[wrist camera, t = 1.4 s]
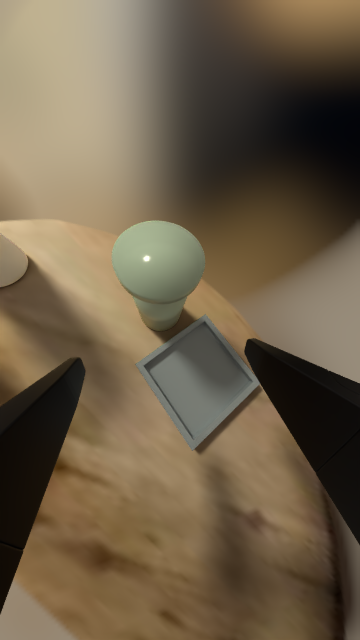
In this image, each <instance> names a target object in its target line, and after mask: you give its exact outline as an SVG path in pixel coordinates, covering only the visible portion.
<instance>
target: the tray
mask: <svg viewBox="0 0 360 640" xmlns="http://www.w3.org/2000/svg"><path fill="white" fill-rule="evenodd" d="M135 365H136V366H137V368H138V369H139V371H140V372H141V374H142V375H143V377H144V378H145V380H146V381H147V383H148V384H149V386H150V387H151V389H152V390H153V392H154V393H155V395H156V397H157V398H158V400H159V401H160V403H161V404H162V406H163V407H164V409H165V410H166V412H167V413H168V415H169V416H170V418H171V419H172V421H173V422H174V424H175V425H176V427H177V428H178V430H179V431H180V433H181V435H182V436H183V438H184V439H185V441H186V442H187V444H188V445H189V447H190V448H191V450H192V451H193V450H194V449H195V448H196V447H197V446H198V445H199V444H200V443H201V442H202V441H203V440H204V439H205V438H206V437H207V436H208V435H209V434H210V433H211V432H212V431H213V430H214V429H215V428H216V427H217V426H218V425H219V424H220V423H221V422H222V421H223V420H224V419H225V418H226V417H227V416H228V415H229V414H230V413H231V412H232V411H233V410H234V409H235V408H236V407H237V406H238V405H239V404H240V403H241V402H242V401H243V400H244V399H245V398H246V397H247V396H248V395H249V394H250V393H251V392H252V391H253V390H254V389H255V388H256V387H257V386H258V385H259V384H260V382H259V381H258V379H257V378H256V377H255V375H254V374H253V373H252V372H251V370H250V369H249V368H248V367H247V365H246V364H245V363H244V362H243V360H242V359H241V358H240V357H239V355H238V354H237V353H236V352H235V350H234V349H233V348H232V347H231V345H230V344H229V343H228V342H227V340H226V339H225V338H224V337H223V335H222V334H221V333H220V332H219V330H218V329H217V328H216V327H215V325H214V324H213V323H212V322H211V320H210V319H209V318H208V317H207V315H206V314H205V315H204V316H202V317H201V318H199V319H198V320H197V321H195V322H194V323H192V324H191V325H190V326H188V327H187V328H185V329H184V330H183V331H181V332H180V333H178V334H177V335H176V336H174V337H173V338H171V339H170V340H169V341H167V342H166V343H164V344H163V345H162V346H160V347H159V348H157V349H156V350H155V351H153V352H152V353H150V354H149V355H148V356H146V357H145V358H143V359H142V360H141V361H139V362H138V363H136V364H135Z"/></svg>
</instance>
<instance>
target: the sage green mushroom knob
mask: <svg viewBox="0 0 360 640" xmlns="http://www.w3.org/2000/svg"><path fill="white" fill-rule="evenodd" d="M112 264H113V268H114V271H115V273H116V275H117V277H118V279H119V281H120V283H121V285H122V286H123V287H124V289H125V290H126V291H127V292H128V293H130V294H131V295H132V296H133V298H134V301H135V304H136V306H137V309H138V311H139V314H140V316H141V319H142V321H143V322H144V324H145V325H146V326H147V327H149V328H150V329H152V330H155V331H165V330H168V329H171V328H172V327H173V326H175V325H176V323H177V322H178V320H179V317H180V315H181V312H182V309H183V306H184V304H185V301H186V298H187V296H188V295H190V294H191V293H192V292H193V291H194V289H195V288H196V287H197V285H198V283H199V281H200V279H201V277H202V274H203V271H204V267H205V256H204V252H203V249H202V247H201V245H200V243H199V242H198V240H197V239H196V238H195V237H194V236H193V235H192V234H191V233H190V232H189V231H187V230H186V229H184V228H183V227H181V226H179V225H176V224H173V223H170V222H164V221H147V222H142V223H139V224H136V225H134V226H132V227H130V228H129V229H127V230H126V231H124V232H123V233H122V234H121V235H120V236H119V238H118V239H117V241H116V242H115V245H114V247H113V251H112Z"/></svg>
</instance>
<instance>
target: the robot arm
mask: <svg viewBox="0 0 360 640" xmlns="http://www.w3.org/2000/svg"><path fill="white" fill-rule="evenodd" d="M244 352H245V355H246V357H247V359H248V361H249V363H250V365H251V367H252V370H253V372H254V374H255V376H256V377H257V379H258V381H259V382H260V384H261V386H262V387H263V389H264V391H265V392H266V394H267V395H268V397H269V399H270V400H271V402H272V403H273V405H274V407H275V408H276V410H277V412H278V413H279V415H280V416H281V418H282V420H283V421H284V423H285V425H286V426H287V428H288V429H289V431H290V433H291V434H292V436H293V437H294V439H295V441H296V442H297V444H298V446H299V447H300V449H301V450H302V452H303V454H304V455H305V457H306V458H307V460H308V462H309V463H310V465H311V467H312V468H313V470H314V471H315V472H316V475H317V477H318V478H319V480H320V481H321V483H322V485H323V486H324V488H325V489H326V491H327V493H328V494H329V496H330V498H331V499H332V501H333V502H334V504H335V505H336V507H337V509H338V510H339V512H340V514H341V515H342V517H343V519H344V520H345V522H346V523H347V525H348V527H349V528H350V530H351V531H352V533H353V535H354V536H355V538H356V540H357V541H358V543H359V544H360V383H357V382H355V381H352V380H350V379H348V378H345V377H343V376H340V375H338V374H336V373H334V372H331V371H328V370H327V369H324V368H322V367H320V366H317V365H315V364H313V363H310V362H308V361H306V360H304V359H301V358H299V357H297V356H294V355H292V354H290V353H287V352H285V351H283V350H280V349H278V348H276V347H273V346H271V345H269V344H267V343H264V342H262V341H260V340H258V339H255V338H253V339H248V340H247V342H246V346H245V350H244ZM84 377H85V367H84V365H83V362H82V360H81V358H79V357H76V358H70V359H68V360H67V361H65V362H64V363H63V364H61V365H60V366H58V367H57V368H55V369H54V370H52V371H51V372H50V373H48V374H47V375H45V376H44V377H42V378H41V379H39V380H38V381H37V382H35V383H34V384H32V385H31V386H29V387H28V388H26V389H25V390H24V391H22V392H21V393H19V394H18V395H16V396H15V397H13V398H12V399H11V400H9V401H8V402H6V403H5V404H3V405H2V406H0V614H1V611H2V608H3V605H4V602H5V600H6V597H7V594H8V592H9V589H10V586H11V584H12V581H13V578H14V576H15V573H16V570H17V568H18V565H19V562H20V559H21V557H22V554H23V549H24V548H25V545H26V543H27V540H28V537H29V535H30V532H31V529H32V526H33V524H34V521H35V518H36V516H37V513H38V510H39V507H40V505H41V502H42V499H43V497H44V494H45V491H46V489H47V486H48V483H49V480H50V478H51V475H52V472H53V470H54V467H55V464H56V461H57V459H58V456H59V453H60V451H61V448H62V445H63V443H64V440H65V437H66V434H67V432H68V429H69V426H70V424H71V421H72V418H73V415H74V413H75V410H76V407H77V404H78V401H79V397H80V393H81V389H82V385H83V381H84Z"/></svg>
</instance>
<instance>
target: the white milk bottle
mask: <svg viewBox="0 0 360 640" xmlns="http://www.w3.org/2000/svg"><path fill="white" fill-rule="evenodd" d="M27 267H28V259H27V256H26V254H25V253H24V252H23V250H21V249H20V248H19V247H18V246H17V245H16V244H14V243H13V242H12V241H11V240H9V239H8V238H7V237H5V236H4V235H2V234H1V233H0V287H4V286H7V285H10V284H12V283H14V282H16V281H17V280H19V279H20V278H21V277H22V276H23V275H24V273H25V272H26V270H27Z"/></svg>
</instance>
